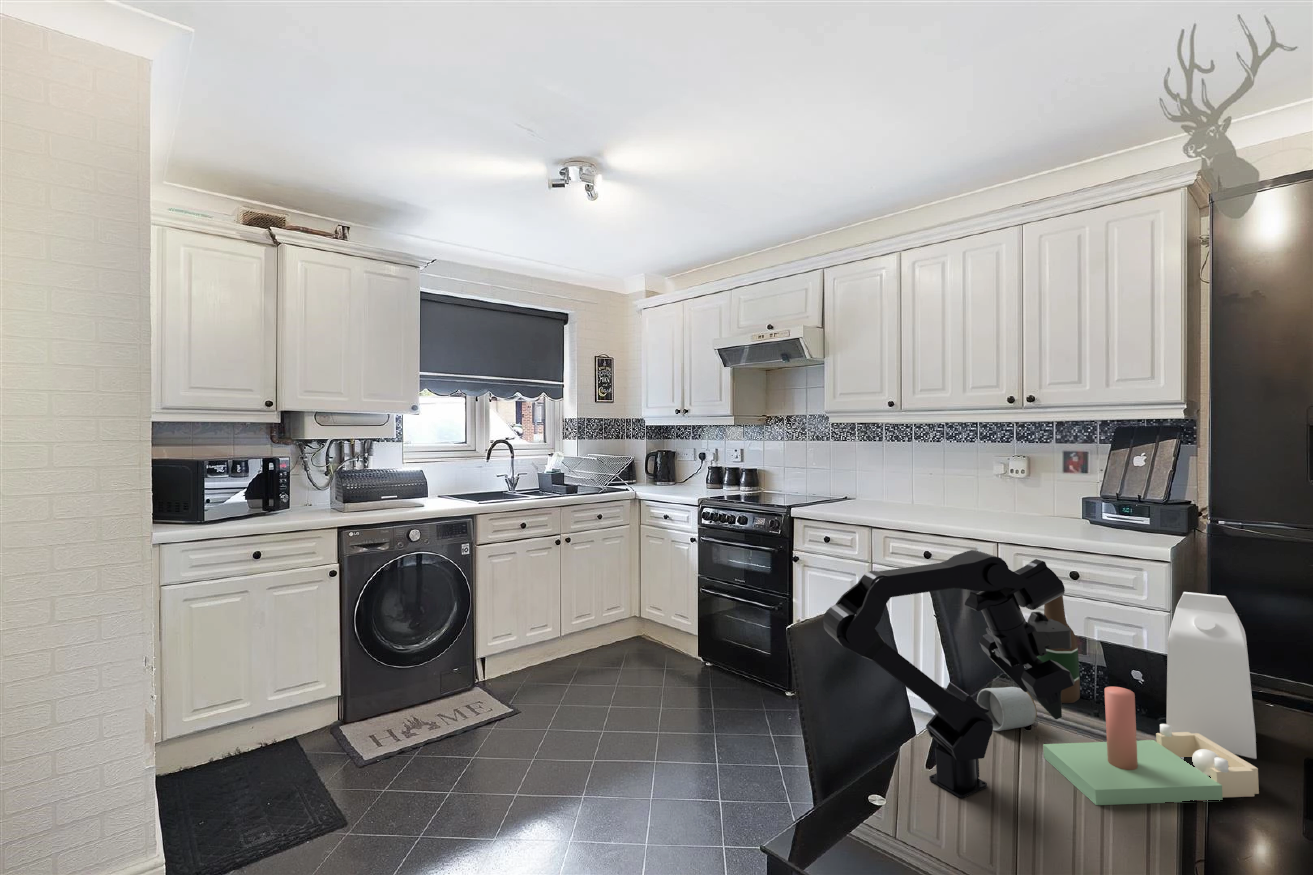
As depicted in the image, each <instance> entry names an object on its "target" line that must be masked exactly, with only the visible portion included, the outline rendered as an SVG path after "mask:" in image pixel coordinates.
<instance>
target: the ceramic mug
mask: <svg viewBox="0 0 1313 875" xmlns="http://www.w3.org/2000/svg"><path fill="white" fill-rule="evenodd" d="M1033 698H1034V697H1033V696H1032V695H1031V694H1030V693H1029V692H1028V691H1027V692H1024V691H1023V690H1022V689H1021V688H1020V687H1016V686H1007V687H987V688H986V687H985V688H983V689H981V690H979V692H978V693H977V697H976V701H977V702H978V703H979V704H981V705H982V706H984V707H985V708H987V709H988V710H989V712H987V713H986V714H987V715H989V717H990V718H991V719H992V721H993V732H1000V731H1006V730H1013V729H1019V728H1025V727H1028V726H1030V725H1033V724H1034V723H1035V721H1036V719H1037V715H1038V711H1037V710H1038V709H1037V706H1036V702H1035V701H1034V700H1035V699H1033Z"/></svg>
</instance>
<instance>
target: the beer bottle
mask: <svg viewBox="0 0 1313 875" xmlns="http://www.w3.org/2000/svg"><path fill="white" fill-rule="evenodd" d="M1043 606H1044V607H1043V614H1044V615H1046V617H1047V619H1048V620H1049V619H1053V620H1054V621H1058V622H1060V623H1062V624H1063V625H1065V626H1067V627H1068V628H1070V629H1071V648H1070V649H1064V648H1060V649H1046V651H1047V653H1048V654H1046V655H1044V656H1037V658H1038V659H1039V660H1041V661H1042V662H1046V661H1048V660H1052V661H1055V662H1057V663H1059V664H1060V665H1062V666H1063V667H1064V668H1066V669H1067V670H1069V671H1070V672H1071V674H1072V677H1073V679H1074V681H1075V684H1074V686H1071V687H1069V688H1066V689H1064V690H1062V692H1061V704H1074V703H1076V702H1077V701H1079V699H1080V698H1081V685H1080V683H1081V682H1080V664H1079V663H1080V662H1079V646H1078V645H1079V644H1078V639H1077V637H1076V634H1075V632H1074V631H1073V629H1072V628H1071V626H1070V625H1069V624H1068V623H1067V622H1068V620H1067V618H1066V613H1065V605H1064V594H1063V595H1061V596H1060V597H1058V598H1056V599H1054V600H1052V601H1050V602H1048V603H1046V604H1044V605H1043Z"/></svg>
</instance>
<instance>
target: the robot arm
mask: <svg viewBox="0 0 1313 875" xmlns="http://www.w3.org/2000/svg"><path fill="white" fill-rule="evenodd" d="M1065 588H1066V587H1065V585H1064V583H1063V581H1062V579H1060V578H1059V577H1058V576H1057V574H1056V573H1055V572H1054V571H1053V570H1052V569H1051V568H1049V567H1048V565H1047V563H1046V561H1044V560H1041V559H1037V558H1035V559H1033V560H1031V561H1030V562H1028V564H1026V565H1024V566H1022V567H1020V568H1019V569H1016V570H1015V571H1013V570H1011V569H1010V568H1009V566H1008V564H1007V562H1006V561H1005V560H1004V559H1003V558H1002V557H999V556H995V555H992V554H990V553H986V552H983V551H980V550H977V549H976V550H975V549H970V550H967V551H964V552H961V553H958V554H954V555H953V556H951V557H949V558H948V559H947V560H944V561H942V562H936V563H930V564H921V565H916V566H915V565H913V566H906V567H901V568H895V569H894V568H893V569H886V570H879V571H877V570H870V571H867V572H865V573H864V574H862V576H861V578H860V579H859V581H857V583H855V584H854V585H853V586H852V587H850V588H849V589H848V590H847V591H846V592H844V593H843V594H842V595H840V598H839V599H838V600H837V602H836V603H835V604H834V605H831V606H830V607H829V608H828V609H827V610H826V611H825V614H824V615H823V620H822V624H823V629H824V631H825V632H827V634H828V635H829V636H830V637H831V638H833V639H834V640H835V641H836V642H837V643H838V644H839V645H841V646H842V647H843V648H845V649H846V650H848V651H850V652H852V653H854V654H856V655H858V656H860V657H861V658H863V659H866V660H869V661H871V662H873V663H875V664H876V665H878V667H880V668H882V670H884V671H885V672H887V673H888V674H889V675H890V676H891V677H893V678H894V679H896V680H897V681H898V682H899V683H900V684H902V685H903V686H904V687H905V688H907V689H909V691H911V692H913V693H914V694H915V695H916V696H918V698H920V699H921V700H922V701H923V702H925V703H926V705H928V707H929V708H930V710H931V711H932V712H933V713H934V715H933V716H932V717H931V719H930V720H928V722H927V724H926V725H925V728H926V730H927V734H928V735H929V736H930V738H932V739H934V741H936V743H937V746H935V747H934V751H935V768H936V773H933V774H931V775H929V776H928V778H929V781H931V782H932V783H934V784H935V785H937V786H939V787H941V788H942V789H944V790H946V791H947V792H950V793H952V794H953V795H955V796H956V797H959V798H962V799H963V798H966V797H967V796H968V797H969V796H970V795H973V794H975V793H977V792H979V791H981V790H984V789H986V788H988V783H987V782H986V781H984V780H982V779H980V763H979V762H980V761H979V760H981V759H982V760H983V759H985V756H986V752H987V749H988V746H989V744H990V740H991V737H992V735H993V732H994V730H993V721H992V719H991V718H990V717H989V715H987V714H986V713H987V712H989V710H988V709H987V708H985V707H984V706H982V705H981V704H979V703H978V702H977V700H975V699H974V698H973V697H972V696H971V695H970V694H968V693H967V692H965V691H964V690H962V689H961V688H960V687H958V686H957V685H955V684H954V683H952V682H951V681H949V682H948V685H947V686H946V687H944V686H941V685H939V684H938V683H937V682H936V681H935V680H933V679H932V678H930V677H929V676H928V675H927V674H925V672H923V671H921V669H920V668H918V667H916V666H915V665H914V664H912V662H910V661H909V660H907V659H906V658H905V657H903V656H902V655H901V654H900V653H899V652H897V651H896V650H895V649H893V648H892V647H891V646H889V644H888V643H886V641H885V640H884V639H883V637H882V636H881V634H880V633H879V631H878V630H876V627H877V626H878V625H879V623H880V622H881V619H882V617H883V614H884V611H885V607H886V605H887V604H888V602H889V601H890V600H891V598H897V597H903V596H909V595H917V594H924V593H930V592H937V591H945V590H951V589H955V590H956V589H957V590H958V589H959V590H961V589H962V590H966V591H967V590H969V591H970V592H969V595H968V597H967V598H966V600H965V602H964V606H965V607H967V608H969V609H971V610H974V611H976V612H981V613H982V615H983V617H984V619H985V622H986V624H987V626H988V627H986V628H985V631H986V634H983V635H981V637H980V639H979V641H978V643H979V645H980V647H981V650H982V651H983V652H984V653H985V654H986V655H987V657H988V658H989V659H990V660H991V661H992V662H993V663H995V665H996V666H998V667H999V668H1000V670H1001V671H1002V672H1003V673H1005V675H1007V676H1008V678H1010V680H1012V682H1014V683H1015V684H1016V685H1017V686H1018V688H1021V689H1022V690H1023V691H1024V692H1028V693H1029V694H1030V696H1031V697H1032V698H1034V700H1036V702H1038V703H1039V705H1041V706H1042V708H1044V710H1046V711H1047V713H1048V714H1049V715H1050V716H1051V717H1052V718H1053V719H1055V720H1058V719H1061V718H1062V717H1063V712H1062V708H1063V707H1062V703H1061V692H1062V690H1064V689H1066V688H1069V687H1071V686H1074V684H1075V681H1074V679H1073V677H1072V674H1071V672H1070V671H1069V670H1067V669H1066V668H1064V667H1063V666H1062V665H1060V664H1059V663H1057V662H1055V661H1052V660H1048V661H1046V662H1042V661H1041V660H1039V659H1038V658H1037V656H1044V655H1046V654H1048V653H1047V651H1046V649H1060V648H1064V649H1070V648H1071V629H1072V628H1071V627H1070V628H1071V629H1070V628H1068V627H1067V626H1065V625H1063V624H1062V623H1060V622H1058V621H1054V620H1053V619H1049V620H1048V619H1047V617H1046V615H1044V612H1043V613H1042V612H1041V611H1034V610H1036V609H1038V608H1041V607H1043V606H1044V604H1046V603H1048V602H1050V601H1052V600H1054V599H1056V598H1058V597H1060V596H1061V595H1063V596H1064V594H1065V592H1066V589H1065ZM976 592H977V593H976ZM1020 607H1021V608H1026V609H1029V610H1031V612H1030V615H1029V617H1028V619H1027V621H1026V619H1025V616H1024V614H1023V612H1022V609H1021V608H1020ZM858 610H859V611H858ZM857 611H858V612H857Z"/></svg>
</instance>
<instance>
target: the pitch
mask: <svg viewBox="0 0 1313 875" xmlns="http://www.w3.org/2000/svg"><path fill="white" fill-rule="evenodd" d="M1042 747H1043V748H1042V750H1043V759H1044V760H1045V761H1047V762H1048V763H1049V764H1050V765H1051V766H1052V767H1054V768H1055V769H1056V770H1057V771H1058V772H1059V774H1061V775H1062V776H1064V778H1066V779H1067V780H1068V781H1069V782H1070V783H1071V784H1072V785H1073V786H1074V787H1075V788H1076V789H1078V790H1079V792H1081V793H1082V794H1083V795H1084V796H1085V797H1086V798H1087V799H1089V800H1090V801H1091V802H1092V803H1093V804H1094V805H1095V806H1109V805H1111V806H1112V805H1136V804H1137V805H1139V804H1142V805H1143V804H1144V805H1145V804H1166V803H1165V802H1174V803H1183V802H1182V801H1190V800H1193V801H1194V800H1219V801H1218V802H1221V801H1220V800H1223V798H1224V797H1222V785H1221V784H1219V783H1218V782H1216V781H1214V780H1213V779H1211V778H1210V777H1209V776H1207V775H1206V774H1204V773H1203V772H1201V771H1200V770H1198V769H1197V768H1195V767H1193V766H1192V765H1190V764H1189V763H1187V762H1186V761H1184V760H1183V759H1181V758H1180V757H1178V756H1177V755H1175V754H1174V753H1172V752H1171V751H1169V750H1168V749H1166V748H1165V747H1163V746H1162V745H1160V744H1159V743H1157V741H1156V740H1154V739H1145V740H1137V761H1138V768H1137V769H1135V770H1125V769H1120V768H1117V767H1115V766H1113V765H1111V764H1110V763H1109V762H1108V756H1107V741H1094V742H1069V743H1068V742H1065V743H1044V744H1042Z"/></svg>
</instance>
